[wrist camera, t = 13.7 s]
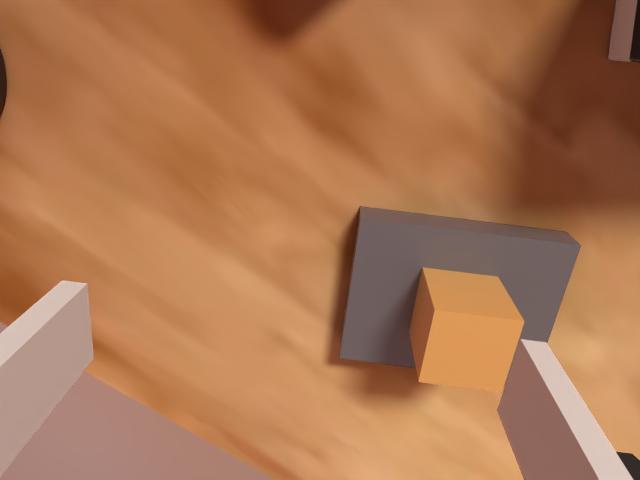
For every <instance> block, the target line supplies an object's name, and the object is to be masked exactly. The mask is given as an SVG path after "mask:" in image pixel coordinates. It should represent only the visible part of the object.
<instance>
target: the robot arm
mask: <svg viewBox="0 0 640 480" xmlns="http://www.w3.org/2000/svg"><path fill="white" fill-rule="evenodd" d="M5 94H6V72H5V65H4V60H3V56H2V53H1V49H0V113H1V111H2V108H3V105H4V100H5ZM93 359H94V355H93V344H92V332H91V321H90V309H89V297H88V286H87V283H79V282H71V281H63V280H62V281H61V282H60V283H59V284H57V285H56V286H55V287H54V288H53V289H52V290H50V291H49V292H48V293H47V294H46V295H45V296H43V297H42V298H41V299H40V300H39V301H38V302H36V303H35V304H34V305H33V306H32V307H31V308H29V309H28V310H27V311H26V312H25V313H24V314H22V315H21V316H20V317H19V318H18V319H17V320H16V321H14V322H13V323H12V324H11V325H10V326H9V327H7V328H6V329H5V330H4V331H3V332H2V333H0V477H1V475H2V474H3V473H4V472H5V470H6V469H7V468H8V466H9V465H10V464H11V463H12V461H13V460H14V459H15V458H16V456H17V455H18V454H19V453H20V451H21V450H22V449H23V447H24V446H25V445H26V444H27V442H28V441H29V440H30V438H31V437H32V436H33V435H34V433H35V432H36V431H37V430H38V428H39V427H40V426H41V424H42V423H43V422H44V421H45V420H46V418H47V417H48V415H49V414H50V413H51V412H52V410H53V409H54V408H55V407H56V406H57V404H58V403H59V402H60V400H61V399H62V398H63V397H64V395H65V394H66V393H67V391H68V390H69V389H70V388H71V387H72V385H73V384H74V383H75V381H76V380H77V379H78V378H79V376H80V375H81V374H82V372H83V371H84V370H85V369H86V367H87V366H88V365H89V364H90V362H91V361H92V360H93ZM497 411H498V414H499V416H500V419H501V421H502V424H503V427H504V429H505V432H506V434H507V437H508V439H509V442H510V445H511V447H512V450H513V452H514V455H515V457H516V460H517V462H518V465H519V468H520V470H521V473H522V475H523V478H524V480H640V460H638V459H637V458H636V457H635V456H634V455H633V454H629V453H621V452H615V450H614V448H613V447H612V445H611V444H610V442H609V440H608V439H607V437H606V436H605V434H604V433H603V431H602V429H601V428H600V426H599V425H598V423H597V422H596V420H595V418H594V417H593V415H592V414H591V412H590V411H589V409H588V407H587V406H586V404H585V403H584V401H583V399H582V398H581V396H580V395H579V393H578V392H577V390H576V388H575V387H574V385H573V384H572V382H571V381H570V379H569V377H568V376H567V374H566V373H565V371H564V370H563V368H562V366H561V365H560V363H559V362H558V360H557V358H556V357H555V355H554V354H553V352H552V351H551V349H550V347H549V346H548V344H547V343H546V342H540V341H532V340H524V339H521V340H520V343H519V346H518V349H517V352H516V355H515V358H514V361H513V364H512V367H511V370H510V373H509V376H508V379H507V382H506V385H505V388H504V391H503V394H502V397H501V400H500V403H499V406H498V409H497Z"/></svg>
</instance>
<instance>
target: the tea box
mask: <svg viewBox="0 0 640 480" xmlns="http://www.w3.org/2000/svg"><path fill="white" fill-rule="evenodd" d="M608 59H609V60H615V61H625V62H640V0H616V5H615V12H614V18H613V25H612V32H611V39H610V47H609V55H608Z"/></svg>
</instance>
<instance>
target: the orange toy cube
mask: <svg viewBox="0 0 640 480" xmlns="http://www.w3.org/2000/svg"><path fill="white" fill-rule="evenodd" d="M523 325H524V320H523V318H522V316H521V314H520V313H519V311H518V309H517V308H516V306H515V304H514V303H513V301H512V299H511V298H510V296H509V294H508V293H507V291H506V289H505V288H504V286H503V284H502V283H501V281H500V279H499V277H497V276H489V275H480V274H472V273H464V272H456V271H448V270H440V269H432V268H424V267H422V272H421V276H420V281H419V286H418V291H417V296H416V300H415V305H414V310H413V315H412V320H411V324H410V329H409V333H410V339H411V344H412V350H413V355H414V361H415V366H416V372H417V377H418V382H423V383H431V384H438V385H446V386H454V387H462V388H469V389H477V390H485V391H493V392H500V393H502V391H503V388H504V385H505V382H506V379H507V375H508V372H509V369H510V366H511V363H512V360H513V356H514V353H515V350H516V347H517V344H518V341H519V337H520V334H521V331H522V328H523Z"/></svg>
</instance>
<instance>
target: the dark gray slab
mask: <svg viewBox="0 0 640 480" xmlns="http://www.w3.org/2000/svg"><path fill="white" fill-rule="evenodd" d="M580 247H581V245H580V244H579V243H578V242H577V241H576V240H574V239H573V238H572V237H571V236H570V235H569V234H568V233H567V232H563V231H555V230H547V229H539V228H531V227H523V226H515V225H507V224H498V223H490V222H482V221H474V220H466V219H458V218H450V217H442V216H434V215H426V214H418V213H410V212H402V211H394V210H386V209H378V208H370V207H361V206H360V211H359V218H358V225H357V232H356V238H355V245H354V252H353V259H352V265H351V272H350V279H349V286H348V293H347V299H346V306H345V313H344V320H343V326H342V333H341V340H340V358H341V359H349V360H356V361H364V362H372V363H379V364H387V365H394V366H402V367H410V368H416V366H415V361H414V355H413V350H412V344H411V339H410V333H409V329H410V324H411V320H412V315H413V310H414V305H415V300H416V296H417V291H418V286H419V281H420V276H421V272H422V267H424V268H432V269H440V270H448V271H456V272H464V273H472V274H480V275H489V276H497V277H499V279H500V281H501V283H502V284H503V286H504V288H505V289H506V291H507V293H508V294H509V296H510V298H511V299H512V301H513V303H514V304H515V306H516V308H517V309H518V311H519V313H520V314H521V316H522V318H523V320H524V325H523V328H522V331H521V334H520V337H519V341H518V344H517V347H516V350H515V353H514V356H513V360H512V363H511V366H510V369H509V372H508V375H507V379H508V376H509V373H510V370H511V367H512V364H513V361H514V358H515V355H516V352H517V349H518V346H519V343H520V340H521V339H524V340H532V341H540V342H546V343H547V342H548V339H549V336H550V334H551V331H552V328H553V325H554V322H555V319H556V316H557V313H558V310H559V308H560V305H561V302H562V299H563V296H564V293H565V290H566V287H567V284H568V282H569V279H570V276H571V273H572V270H573V267H574V264H575V261H576V259H577V256H578V253H579V250H580ZM507 379H506V380H507Z"/></svg>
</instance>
